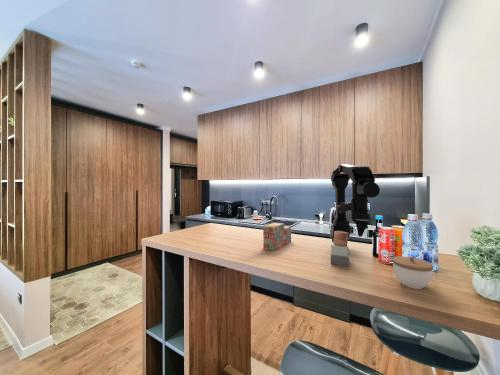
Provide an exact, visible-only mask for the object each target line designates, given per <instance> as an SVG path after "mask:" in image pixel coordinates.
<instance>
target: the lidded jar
mask: <svg viewBox="0 0 500 375" xmlns="http://www.w3.org/2000/svg"><path fill="white" fill-rule="evenodd" d="M392 268H393V273H394V276H395V277H396V279H397V280H398V281H399V283H400V284H401V283H402V284H401V285H403V286H404V285H405V287H407V288H409V289H413V290H414V289H415V290H422V288H423V289H424V287H427V286H428V285H429V284H430V283H431V281H432V279H433V274H434V272H433V271H434V265H433V264H432V262H428V261H427V260H424V259H422V258H421V259H420V258H417V257H414V256H412V255H411V256H400V255H399V256H394V257H393V258H392Z"/></svg>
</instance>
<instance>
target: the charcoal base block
mask: <svg viewBox="0 0 500 375" xmlns="http://www.w3.org/2000/svg"><path fill="white" fill-rule="evenodd" d="M330 265H332V266H333V265H334V266H339V267H346V268H350V252H347V257H344V256H336V255H332V251H331V252H330Z"/></svg>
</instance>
